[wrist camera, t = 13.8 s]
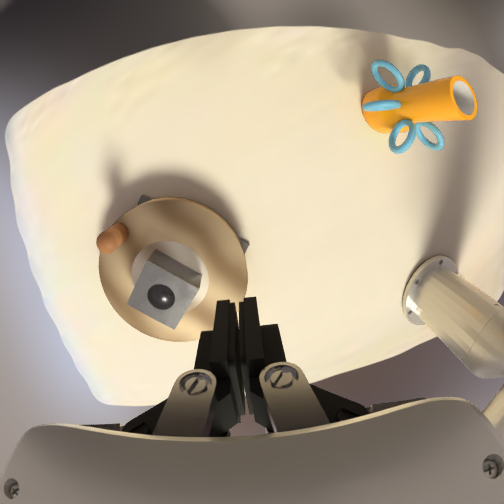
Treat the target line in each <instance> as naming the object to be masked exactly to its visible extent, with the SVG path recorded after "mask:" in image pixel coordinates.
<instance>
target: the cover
mask: <svg viewBox="0 0 504 504" xmlns="http://www.w3.org/2000/svg"><path fill="white" fill-rule="evenodd" d="M201 278H202V274H200V273H198V272H196V271H194V270H192V269H191V268H189V267H187V266H185V265H183V264H182V263H180V262H178V261H176V260H175V259H173V258H171V257H169V256H168V255H166V254H164V253H162V252H161V251H159V250H157V249H155V250H154V251H153V253H152V254H151V255H150V257H149V258H148V260H147V261H146V263H145V265H144V268H143V270H142V272H141V274H140V276H139V278H138V280H137V282H136V284H135V287H134V289H133V291H132V293H131V295H130V298H129V300H128V302H127V305H129V306H131V307H132V308H134V309H136V310H138V311H140V312H141V313H143V314H145V315H147V316H149V317H151V318H153V319H154V320H156V321H158V322H160V323H162V324H164V325H166V326H168V327H170V328H172V329H174V330H175V328H176V327H177V325H178V323H179V322H180V320H181V318H182V317H183V315H184V314H185V312H186V310H187V309H188V307H189V305H190V304H191V302H192V300H193V299H194V297H195V296H196V294H197V292H198V291H199V289H200V284H201Z"/></svg>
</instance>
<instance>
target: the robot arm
mask: <svg viewBox="0 0 504 504" xmlns="http://www.w3.org/2000/svg"><path fill="white" fill-rule="evenodd" d="M243 300H244V301H241V302H239V325H238V319H237V312H236V305H235V302H232V303H230V299H228V300H218V301H217V303H216V311H215V319H214V326H213V330H210V331H201V334H200V339H199V344H198V350H197V355H196V361H195V366H194V370H190V371H187V372H185V373H183V374H181V375H180V376H179V377H178V378H177V380H176V381H175V383H174V386H173V388H172V390H171V392H170V395H169V397H168V398H167V399H166V400H164V401H163V402H161V403H159V404H158V405H156V406H154V407H153V408H151V409H149V410H148V411H146V412H145V413H143V414H141V415H139V416H138V417H136V418H134V419H132V420H131V421H129V422H128V423H127V424H126V425H125V426H122V425H121V424H99V425H72V424H56V423H52V424H43V425H38V426H35V427H32V428H31V429H29V430H28V431H27V432H25V434H24V435H23V436H22V437H21V438H20V440H19V441H18V443H17V444H16V446H15V448H14V450H13V451H12V453H11V455H10V457H9V459H8V461H7V464H6V465H5V467H4V470H3V472H2V474H1V477H0V504H504V384H503V385H502V387H501V388H500V390H499V391H498V393H497V394H496V395H495V396H494V398H493V399H492V400H491V401H490V403H489V404H488V405H487V406H486V407H485V409H484V410H483V411H482V412H481V411H480V409H478V408H477V407H476V406H475V405H474V404H472V403H471V402H469V401H468V400H465V399H462V398H457V397H439V398H431V399H426V398H416V399H410V400H403V401H396V402H388V403H379V404H372V406H371V407H366V408H365V407H364V406H362V405H361V404H359V403H356V402H354V401H351V400H348V399H346V398H343V397H340V396H338V395H335V394H333V393H330V392H328V391H325V390H323V389H320V388H318V387H316V386H314V385H311V384H309V382H308V381H307V379H306V377H305V375H304V373H303V371H302V370H301V369H300V367H298V366H297V365H295V364H292V363H289V362H286V358H285V353H284V349H283V345H282V340H281V336H280V332H279V328H278V324H271V325H263V326H260V323H259V316H258V308H257V301H256V297H248V298H243ZM402 306H403V312H404V315H405V317H406V318H407V319H408V320H409V321H410V322H411V323H413V324H415V325H424V324H426V325H427V326H428V327H429V328H430V329H431V330H432V331H433V332H434V333H435V334H436V335H437V336H438V337H439V338H440V339H441V340H442V341H443V342H444V343H445V344H446V345H447V346H448V347H449V349H451V351H452V352H453V353H454V354H455V355H456V356H457V357H458V358H459V359H460V360H461V361H462V362H463V364H464V365H465V366H466V367H467V368H468V369H469V370H470V371H471V372H472V373H473V374H474V375H475V376H477V377H479V378H482V379H492V378H499V377H503V378H504V307H503V306H502V305H501V304H499V303H498V302H497V301H495V300H494V299H492V298H491V297H490V296H488V295H487V294H485V293H484V292H483V291H481V290H480V289H478V288H477V287H475V286H474V285H473V284H471V283H470V282H468V281H467V280H465V279H464V278H462V277H461V276H459V275H458V270H457V267H456V264H455V263H454V262H453V260H451V259H450V258H448V257H446V256H441V255H439V256H434V257H432V258H430V259H428V260H427V261H425V262H424V263H423V264H422V265H421V266H420V267H419V268H418V269H417V270H416V271H415V273H414V274H413V276H412V277H411V279H410V281H409V283H408V285H407V287H406V290H405V292H404V297H403V305H402ZM244 387H245V393H246V398H247V403H248V408H249V414H254V417H255V421H256V422H257V423H259V424H260V425H262V426H264V427H265V428H266V433H267V434H261V435H249V436H233V437H231V428H232V427H233V426H234V425H236V424H237V423H241V422H240V415H245V393H244Z"/></svg>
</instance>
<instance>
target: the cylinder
mask: <svg viewBox="0 0 504 504" xmlns="http://www.w3.org/2000/svg"><path fill="white" fill-rule="evenodd" d="M378 67H384V68H386V69H388V70H389V71H391V72H392V73H393V75H394V76H395V77H396V79H397V82H398V85H395V84H388V83H387V82H385V81H384V80H383V79H382V77H381V76H380V74H379V72H378ZM420 71H424V76H423V78H422V80H421V82H420V83H419V84H418V85H414V86H412V81H413V79H414V77H415V76H416V74H417V73H419V72H420ZM371 72H372V74H373V76H374V78H375V80H376V81H377V82H378V83H379V84H380V85H381V86H382V87H379V88H376V89H374V90H371V91H369V92H368V93H367V94H366V95H365V97H364V99H363V102H362V112H363V115H364V118H365V120H366V122H367V123H368V124H369V125H370V126H371V127H372V128H373V129H374V130H376V131H378V132H380V133H390V137H389V147H390V149H391V151H392V152H394V153H396V154H400V153H403V152H405V151H406V150H407V149H408V148H409V147H410V146H411V145H412V143H413V141H414V139H415V135H417V137H418V138H419V139H420V141H421V142H422V143H423V144H424V145H426V146H427V147H429V148H430V149H433V150H441V149H442V148H443V146H444V138H443V136H442V134H441V132H440V131H439V129H438V128H437V127H436V126H435V125H434V124H433V123H431V122H434V121H455V120H472V119H474V118H475V116H476V113H477V100H476V96H475V93H474V91H473V89H472V87H471V86H470V84H469V83H468V82H467V81H466V80H465V79H464V78H463V77H461V76H453V77H448V78H443V79H439V80H434V81H430V82H429V80H430V75H431V74H430V70H429V68H428V67H427V66H426V65H417V66H416V67H414V68H413V69H412V70H411V71H410V73H409V74H408V76H407V79H406V88H404V87H405V82H404V79H403V76H402V75H401V73H400V72H399V70H398V69H397V68H396V67H395V66H393V65H392V64H391V63H389V62H387V61H384V60H375V61H374V62H373V63H372V64H371ZM420 126H425V127H427V128H429V129H430V130H431V131H432V132H433V133H434V134H435V135H436V137H437V139H438V143H437V144H434V143H432V142H430V141H429V140H427V139H426V138H425V137H424V135H423V134H422V132H421V130H420ZM408 130H409V133H408V136H407V138H406V140H405V141H404V142H403V144H401V145H400V146H396V145H395V141H396V137H397V135H398V133H399V132H406V131H408Z"/></svg>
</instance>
